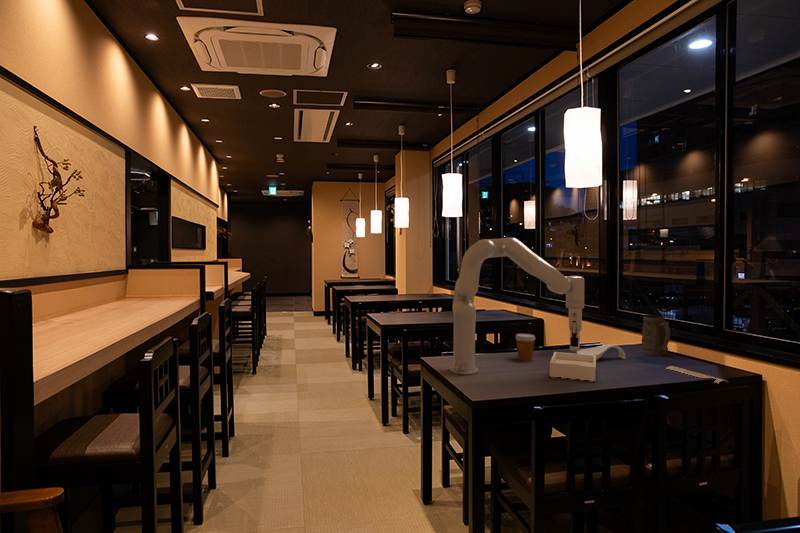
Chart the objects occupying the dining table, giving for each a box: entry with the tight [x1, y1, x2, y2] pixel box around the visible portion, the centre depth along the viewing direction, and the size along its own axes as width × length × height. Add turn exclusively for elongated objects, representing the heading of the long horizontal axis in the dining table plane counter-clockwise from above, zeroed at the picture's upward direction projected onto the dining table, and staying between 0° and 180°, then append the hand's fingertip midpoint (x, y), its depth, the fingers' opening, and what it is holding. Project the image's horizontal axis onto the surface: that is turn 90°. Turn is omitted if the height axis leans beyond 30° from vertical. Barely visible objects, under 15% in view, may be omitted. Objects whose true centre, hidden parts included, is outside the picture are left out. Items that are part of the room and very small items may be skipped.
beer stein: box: [641, 314, 672, 357], centre depth 237 cm, size 15×11×20 cm
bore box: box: [549, 351, 597, 382], centre depth 203 cm, size 22×18×6 cm
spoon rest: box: [576, 343, 626, 361], centre depth 228 cm, size 24×12×7 cm, turn 97°
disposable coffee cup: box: [515, 333, 536, 362], centre depth 226 cm, size 10×10×12 cm
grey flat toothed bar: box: [665, 365, 729, 384], centre depth 200 cm, size 24×7×2 cm, turn 22°
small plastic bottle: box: [569, 329, 581, 352], centre depth 203 cm, size 4×4×10 cm
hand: (574, 345), depth 203 cm, fingers closed on small plastic bottle, 4 cm apart
